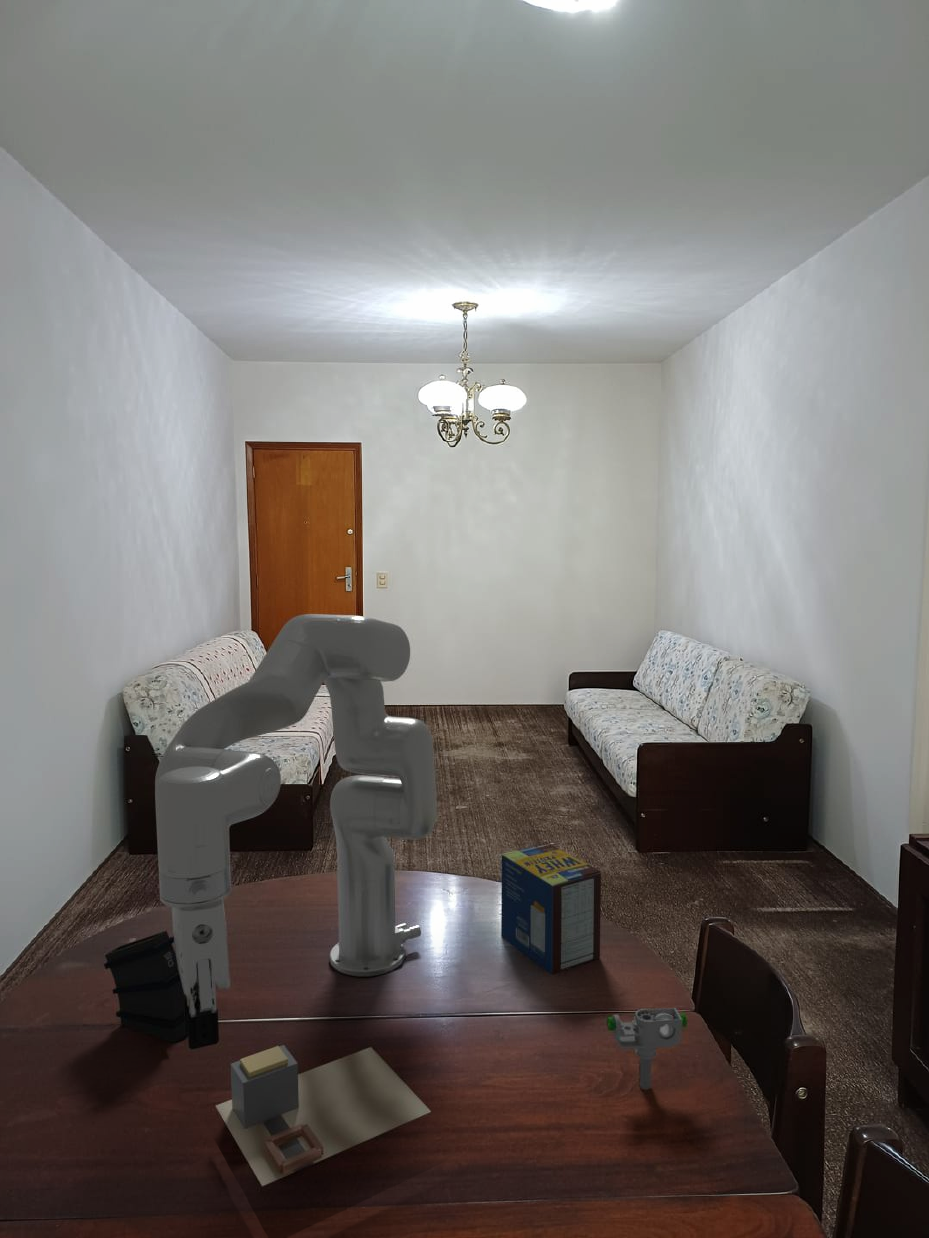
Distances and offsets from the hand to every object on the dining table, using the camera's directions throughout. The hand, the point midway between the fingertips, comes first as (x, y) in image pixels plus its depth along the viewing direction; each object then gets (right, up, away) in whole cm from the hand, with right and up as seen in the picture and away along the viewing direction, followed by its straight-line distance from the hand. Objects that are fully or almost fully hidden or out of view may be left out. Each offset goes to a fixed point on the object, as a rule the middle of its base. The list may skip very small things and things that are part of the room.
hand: (201, 1035), depth 100 cm
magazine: (-17, -13, +31) cm, 38 cm away
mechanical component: (+53, -15, +18) cm, 58 cm away
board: (+12, -16, +12) cm, 23 cm away
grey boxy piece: (+5, -14, +12) cm, 19 cm away
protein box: (+44, -10, +55) cm, 71 cm away
